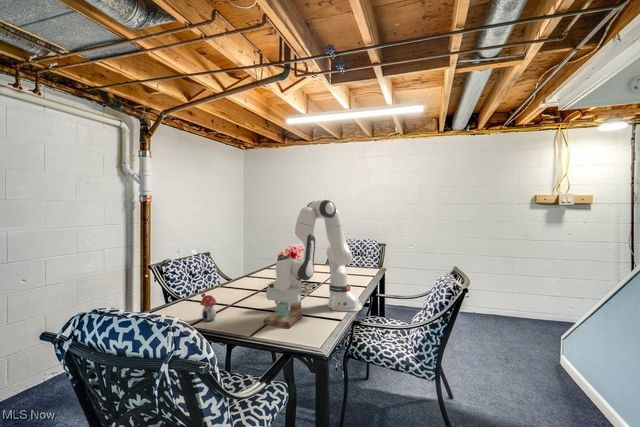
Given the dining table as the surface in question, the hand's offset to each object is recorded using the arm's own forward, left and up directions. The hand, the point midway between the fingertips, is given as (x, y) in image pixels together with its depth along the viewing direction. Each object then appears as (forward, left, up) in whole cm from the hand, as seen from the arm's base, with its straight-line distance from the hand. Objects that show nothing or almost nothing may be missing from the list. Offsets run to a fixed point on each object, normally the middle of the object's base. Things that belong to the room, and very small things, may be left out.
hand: (283, 308), depth 170 cm
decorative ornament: (+40, +14, -7) cm, 43 cm away
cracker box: (+6, -21, -7) cm, 23 cm away
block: (0, -1, -4) cm, 4 cm away
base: (0, 0, -7) cm, 7 cm away
